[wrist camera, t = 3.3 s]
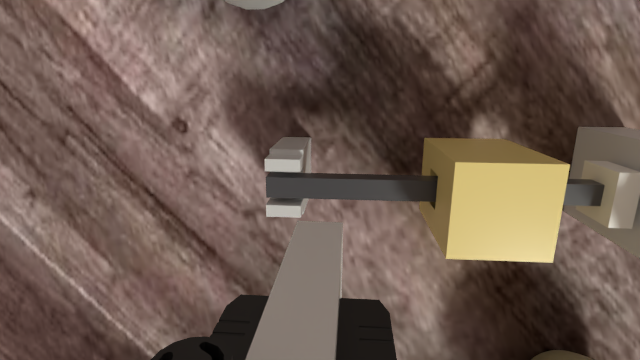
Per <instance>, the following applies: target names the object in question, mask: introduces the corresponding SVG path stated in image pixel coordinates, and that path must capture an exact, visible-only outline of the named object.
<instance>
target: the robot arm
mask: <svg viewBox="0 0 640 360" xmlns="http://www.w3.org/2000/svg"><path fill="white" fill-rule="evenodd" d="M342 251H343V222H315V221H297V224H296V226H295V229H294V232H293V234H292V237H291V240H290V242H289V245H288V248H287V250H286V253H285V256H284V258H283V261H282V264H281V266H280V269H279V272H278V274H277V277H276V280H275V282H274V285H273V288H272V290H271V293H270V296H258V295H240V296H239V297H237V298H236V299H235V300H234V301H232V302H231V303H230V304H228V305H227V306H226V308H225V310H224V312H223V314H222V315H221V317H220V319H219V323H217V325H216V326H215V328H214V330H213V334H212V335H211V336H210V337H192V338H187V339H184V340H180V341H177V342H174V343H172V344H171V345H169V346H167V347H165V348H164V349H162V350H160V351H159V352H158V353H157V354H156V355H155V356H154V357H153V358H152V359H151V360H397V358H396V352H395V345H394V339H393V333H392V326H391V320H390V313H389V312H388V310H387V309H386V308H385V307H384V306H383V304H382V303H381V302H380V301H379V300H368V299H348V298H341V297H342Z"/></svg>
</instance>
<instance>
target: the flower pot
mask: <svg viewBox="0 0 640 360" xmlns="http://www.w3.org/2000/svg"><path fill="white" fill-rule="evenodd" d="M531 360H595V359H592V358H589V357H587V356H584V355H581V354H577V353H574V352H570V351H565V350H551V351H546V352H543V353H540V354H538V355H536V356H535V357H533V358H532V359H531Z"/></svg>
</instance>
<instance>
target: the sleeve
mask: <svg viewBox="0 0 640 360" xmlns="http://www.w3.org/2000/svg"><path fill="white" fill-rule="evenodd" d="M569 168H570V164H568V163H565V162H562V161H560V160H557V159H555V158H552V157H550V156H547V155H544V154H542V153H539V152H537V151H534V150H532V149H529V148H527V147H524V146H521V145H519V144H516V143H514V142H511V141H509V140H506V139H468V138H424V151H423V164H422V176H438V182H437V194H436V202H422V201H420V204H419V209H420V211H421V213H422V215H423V217H424V219H425V221H426V222H427V224H428V226H429V228H430V230H431V232H432V234H433V235H434V237H435V239H436V241H437V243H438V245H439V247H440V248H441V250H442V252H443V254H444V256H445V258H446V259H467V260H494V261H521V262H549V263H553V259H554V253H555V247H556V242H557V236H558V230H559V225H560V219H561V213H562V208H563V202H564V196H565V191H566V185H567V179H568V174H569Z"/></svg>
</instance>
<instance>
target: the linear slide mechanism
mask: <svg viewBox="0 0 640 360" xmlns="http://www.w3.org/2000/svg"><path fill="white" fill-rule="evenodd" d="M269 153H270V154H269V155H268V156H267V157H266V158H265V171H270V173H269V174H268V175H267V177H266V196H267V197H271V198H270V200H269V201H268V203H267V204H266V217H299V218H301V215H302V214H304V211H305V208H306V205H307V202H308V199H347V200H385V201H422V202H436V194H437V182H438V176H418V175H373V174H327V173H311V137H282V138H281V139H280V140H279V141H278V142H277V143H276V144H275V145H274V146H272V147H271V148H270V149H269ZM563 205H564V210H563V211H564V212H565V213H567V214H568V215H570V216H572V217H573V218H575V219H577V220H578V221H580V222H581V223H583V224H585V225H586V226H588V227H589V228H591V229H593V230H594V231H596V232H597V233H599V234H601V235H602V236H604V237H606V238H607V239H609V240H610V241H612V242H614V243H615V244H617V245H618V246H620V247H622V248H623V249H625V250H626V251H628V252H630V253H631V254H633V255H635V256H636V257H638V258H639V259H640V130H638V129H632V128H627V127H578V131H577V137H576V142H575V148H574V153H573V159H572V165H571V170H570V176H569V179H567V185H566V191H565V196H564V202H563Z"/></svg>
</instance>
